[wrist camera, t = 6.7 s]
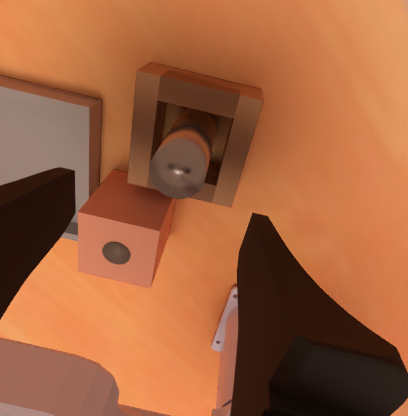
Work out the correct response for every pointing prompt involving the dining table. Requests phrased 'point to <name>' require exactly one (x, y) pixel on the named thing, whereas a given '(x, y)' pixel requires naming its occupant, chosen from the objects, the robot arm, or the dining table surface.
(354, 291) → the dining table surface
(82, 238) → the block
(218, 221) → the dining table surface
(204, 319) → the dining table surface
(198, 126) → the cylinder
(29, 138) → the tray
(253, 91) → the brown square frame
